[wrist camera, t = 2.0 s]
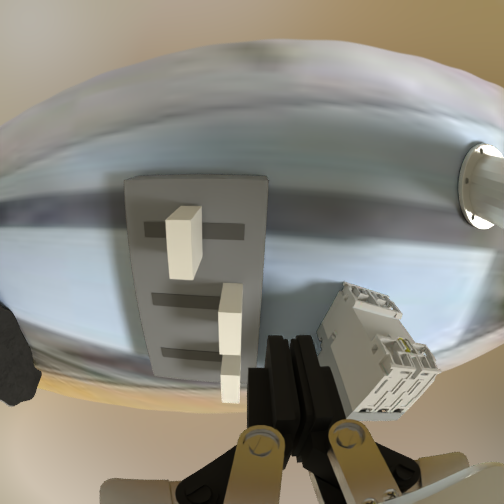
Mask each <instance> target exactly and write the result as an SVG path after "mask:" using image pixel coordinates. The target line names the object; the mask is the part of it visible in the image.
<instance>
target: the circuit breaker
mask: <svg viewBox="0 0 504 504" xmlns="http://www.w3.org/2000/svg"><path fill="white" fill-rule="evenodd" d="M343 286H344V288H343V290H342V291H340V290H339V292H338V294H337V296H336V298H335V300H334V302H333V303H332V305H331V307H330V309H329V311H328V312H327V314H326V316H325V318H324V320H323V321H322V323H321V325H320V327H319V328H318V330H317V335H318V338H319V341H322V343H321V344H320V345H321V348H322V351H321V352H320V354H319V355H318V361H319V364H320V366H329V367H330V368H331V371H332V374H333V377H334V380H335V383H336V386H337V389H338V393H339V396H340V399H341V402H342V406H343V409H344V412H345V416H346V419H353V420H357V421H391V420H398V419H399V418H400V417H401V415H403V414H404V413H405V412H406V411H407V410H408V408H410V407H411V406H412V405H413V404H414V403H415V402H416V400H417V399H418V398H419V397H420V396H421V395H422V394H423V393H424V392H425V391H426V390H427V388H428V387H429V386H430V385H431V384H432V383H433V381H434V380H435V376H436V375H437V374H440V373H441V370H440V369H438V367H437V365H436V363H435V361H436V359H435V357H434V356H433V354H432V353H431V352H430V350H429V349H428V347H427V346H426V345H425V344H420V343H415V342H414V340H413V339H412V337H411V336H410V335H409V333H408V332H407V330H406V329H405V328H404V326H403V325H402V323H401V322H400V321H399V319H401V317H402V315H403V314H402V312H401V311H400V310H399V309H398V307H397V306H396V305H395V304H394V302H393V301H391V300H390V299H389V296H388V295H384V294H381V293H378V292H375V291H372V290H369V289H366V288H363V287H360V286H357V285H353V284H350V283H347V282H344V283H343ZM359 290H361V292H360V291H359ZM391 308H393V310H391ZM424 353H425V354H426V355H427V356H425V355H423V354H424ZM382 410H385V411H386V412H382Z"/></svg>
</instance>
